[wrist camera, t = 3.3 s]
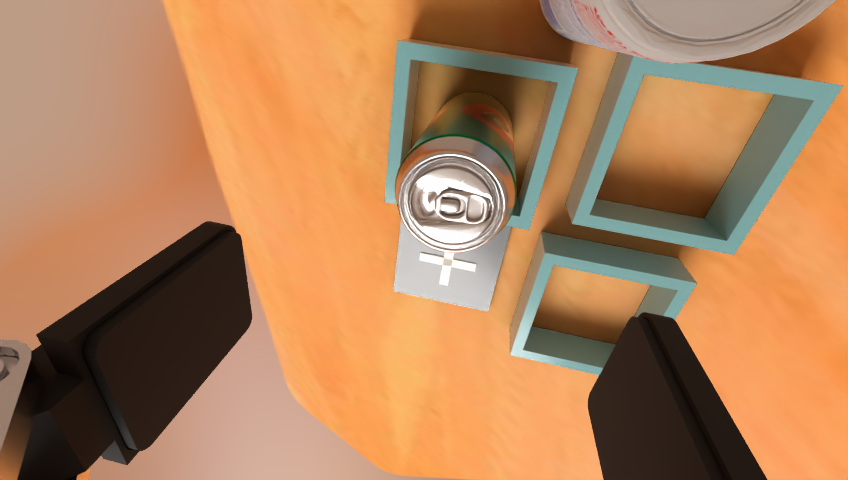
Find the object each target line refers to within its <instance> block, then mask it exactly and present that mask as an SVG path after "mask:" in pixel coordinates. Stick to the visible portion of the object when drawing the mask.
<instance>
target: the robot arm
mask: <svg viewBox="0 0 848 480" xmlns="http://www.w3.org/2000/svg"><path fill="white" fill-rule="evenodd" d="M251 320H252V311H251V304H250V297H249V290H248V282H247V275H246V268H245V261H244V254H243V246H242V239H241V236H240V235H239V234H238V233H236V230H235V229H234V227H232V226H229V225H225V224H220V223H215V222H211V221H210V222H205V223H203V224H201V225H200V226H198V227H197V228H196V229H194V230H192V231H191V232H189V233H188V234H186V235H185V236H183V237H182V238H181V239H179V240H177V241H176V242H175V243H173V244H171V245H170V246H168V247H167V248H165V249H164V250H162V251H161V252H159V253H158V254H157V255H155V256H153V257H152V258H151V259H149V260H147V261H146V262H144V263H143V264H141V265H140V266H138V267H137V268H135V269H134V270H132V271H131V272H129V273H128V274H126V275H125V276H123V277H122V278H120V279H119V280H117V281H116V282H114V283H113V284H111V285H110V286H109V287H107V288H106V289H104V290H102V291H101V292H100V293H98V294H97V295H95V296H94V297H92V298H91V299H89V300H87V301H86V302H85V303H83V304H81V305H80V306H79V307H77V308H75V309H74V310H73V311H71V312H70V313H68V314H67V315H65V316H64V317H62V318H61V319H59V320H58V321H56V322H55V323H53V324H52V325H50V326H49V327H47V328H46V329H44V330H43V331H41V332H40V333H38V334H37V337H38V339H39V341H40V343H41V345H40V346H39V347H37V348H36V349H35V350H33V351H31V349H30V348H29V347H28V346H27V344H24V343H22V342H19V341H15V340H0V480H89V475H90V468H91V465H92V464H93V463H94V462H95V461H96V460H97V459H98V458H99V457H100V456H102V457H103V459H106V460H110V461H114V462H118V463H121V464H125V465H128V464H129V463H130V461H131V460H132V459H133V458H134V457H135V456H136V454H137V453H138V452H139V451H143V450H145V449H147V448H148V447H150V446H151V444H152V443H153V442H154V441H155V440H156V439H157V438H158V436H159V435H160V434H161V433H162V432H163V430H164V429H165V428H166V427H167V426H168V424H169V423H170V422H171V421H172V419H173V418H174V417H175V416H176V415H177V414H178V412H179V411H180V410H181V409H182V407H183V406H184V405H185V404H186V403H187V402H188V400H189V399H190V398H191V397H192V396H193V394H194V393H195V392H196V391H197V390H198V388H199V387H200V386H201V385H202V383H203V382H204V381H205V380H206V379H207V378H208V376H209V375H210V374H211V373H212V371H213V370H214V369H215V368H216V367H217V366H218V364H219V363H220V362H221V361H222V359H223V358H224V357H225V356H226V355H227V354H228V352H229V351H230V350H231V349H232V348H233V346H234V345H235V344H236V343H237V342H238V340H239V339H240V338H241V336H242V335H243V334H244V333H245V332H246V330H247V329H248V328H249V326H250V324H251ZM588 410H589V415H590V419H591V424H592V429H593V433H594V438H595V442H596V447H597V451H598V456H599V460H600V465H601V469H602V474H603V478H604V480H767V478H766V476H765V475H764V473H763V471H762V470H761V468H760V466H759V464H758V463H757V461H756V459H755V457H754V456H753V454H752V452H751V451H750V449H749V447H748V445H747V444H746V442H745V440H744V438H743V437H742V435H741V433H740V432H739V430H738V428H737V426H736V425H735V423H734V421H733V419H732V418H731V416H730V414H729V412H728V411H727V409H726V407H725V406H724V404H723V402H722V400H721V399H720V397H719V395H718V393H717V392H716V390H715V388H714V387H713V385H712V383H711V381H710V380H709V378H708V376H707V374H706V373H705V371H704V369H703V368H702V366H701V364H700V362H699V361H698V359H697V357H696V355H695V354H694V352H693V350H692V348H691V347H690V345H689V343H688V342H687V340H686V338H685V336H684V335H683V333H682V331H681V329H680V328H679V326H678V324H677V323H676V321H675V320H674V319H673V318H671V317H666V316H662V315H657V314H652V313H647V312H643V313H641V314H640V315H639V316H638V317H631V318H630V320H629V321H628V323H627V325H626V327H625V328H624V330H623V332H622V334H621V336H620V338H619V340H618V341H617V343H616V345H615V347H614V349H613V351H612V353H611V355H610V356H609V358H608V360H607V362H606V364H605V366H604V368H603V370H602V371H601V373H600V375H599V377H598V379H597V381H596V383H595V384H594V386H593V388H592V390H591V392H590V394H589V398H588Z"/></svg>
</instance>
